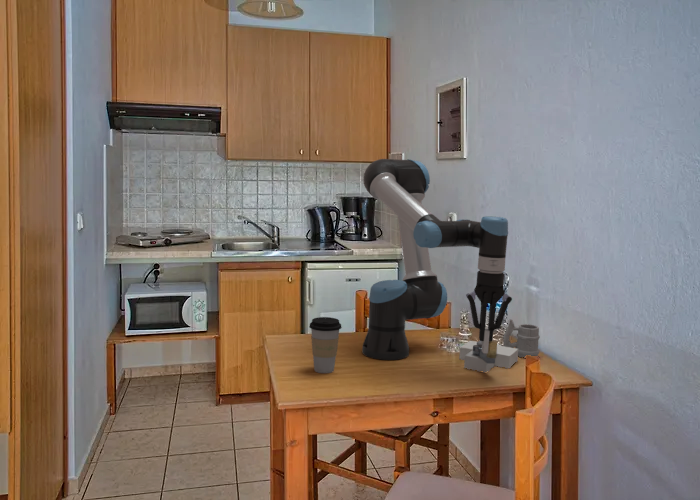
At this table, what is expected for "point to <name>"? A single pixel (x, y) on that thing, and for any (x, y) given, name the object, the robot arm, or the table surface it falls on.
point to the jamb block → (476, 362)
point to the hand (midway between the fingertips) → (484, 351)
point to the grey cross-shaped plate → (503, 356)
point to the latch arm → (488, 356)
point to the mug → (523, 339)
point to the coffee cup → (324, 343)
